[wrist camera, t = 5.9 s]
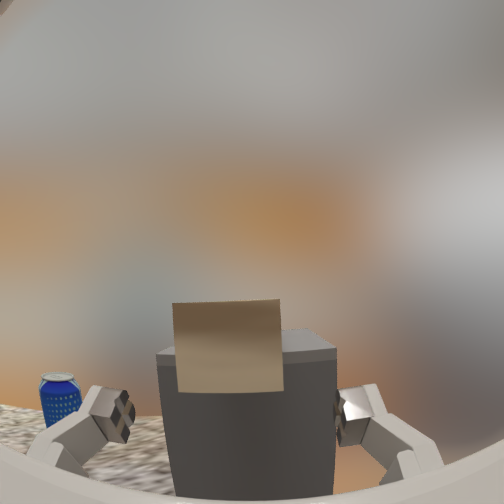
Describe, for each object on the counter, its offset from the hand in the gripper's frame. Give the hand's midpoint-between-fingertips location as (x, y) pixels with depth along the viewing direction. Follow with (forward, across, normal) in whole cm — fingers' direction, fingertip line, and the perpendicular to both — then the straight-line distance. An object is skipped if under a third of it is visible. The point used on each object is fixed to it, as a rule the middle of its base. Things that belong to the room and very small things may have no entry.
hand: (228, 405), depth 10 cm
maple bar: (+11, 0, +6) cm, 12 cm away
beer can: (+16, +36, +39) cm, 55 cm away
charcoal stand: (+1, 0, +30) cm, 30 cm away
